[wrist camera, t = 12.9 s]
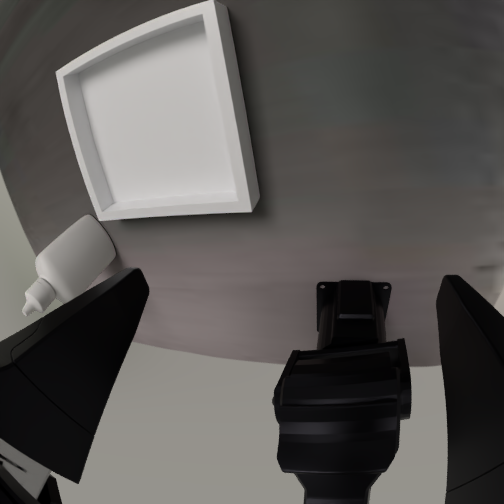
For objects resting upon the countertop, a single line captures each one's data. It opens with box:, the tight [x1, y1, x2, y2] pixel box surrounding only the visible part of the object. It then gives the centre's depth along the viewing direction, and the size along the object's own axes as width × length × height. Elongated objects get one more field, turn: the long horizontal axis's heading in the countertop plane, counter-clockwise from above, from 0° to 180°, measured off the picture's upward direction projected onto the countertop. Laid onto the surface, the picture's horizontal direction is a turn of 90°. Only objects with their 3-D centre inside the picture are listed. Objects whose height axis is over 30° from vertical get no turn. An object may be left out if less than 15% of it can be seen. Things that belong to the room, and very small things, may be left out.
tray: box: [56, 0, 260, 221], centre depth 18 cm, size 14×14×2 cm
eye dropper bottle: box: [22, 215, 116, 316], centre depth 23 cm, size 4×6×12 cm
